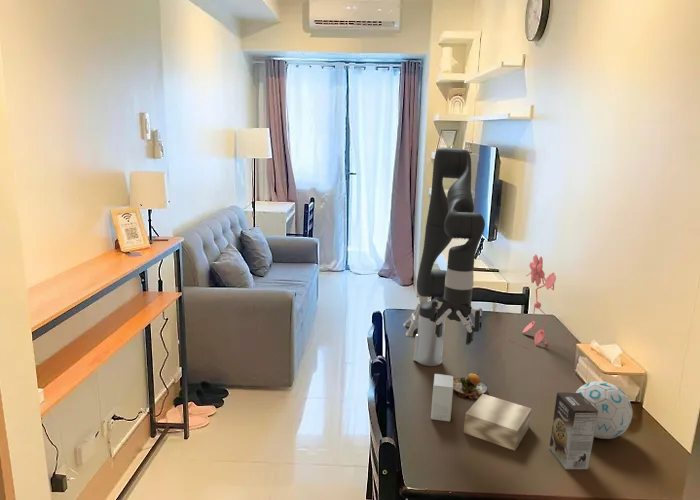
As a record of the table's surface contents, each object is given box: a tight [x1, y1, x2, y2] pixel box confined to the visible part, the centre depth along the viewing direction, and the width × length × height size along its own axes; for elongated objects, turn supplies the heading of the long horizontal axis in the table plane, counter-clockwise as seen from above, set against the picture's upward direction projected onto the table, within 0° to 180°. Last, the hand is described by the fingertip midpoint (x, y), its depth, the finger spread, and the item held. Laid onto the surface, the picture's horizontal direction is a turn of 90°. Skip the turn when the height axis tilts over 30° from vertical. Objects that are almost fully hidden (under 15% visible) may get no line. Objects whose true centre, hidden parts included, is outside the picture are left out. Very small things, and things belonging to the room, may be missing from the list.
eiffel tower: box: [403, 295, 429, 337], centre depth 214 cm, size 13×13×30 cm
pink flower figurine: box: [507, 254, 557, 349], centre depth 210 cm, size 15×26×35 cm, turn 2°
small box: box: [430, 373, 454, 422], centre depth 152 cm, size 8×6×10 cm
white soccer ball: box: [574, 380, 634, 440], centre depth 145 cm, size 15×15×15 cm
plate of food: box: [453, 371, 489, 400], centre depth 168 cm, size 12×12×8 cm
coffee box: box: [549, 391, 598, 470], centre depth 133 cm, size 9×6×16 cm
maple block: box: [463, 394, 533, 451], centre depth 146 cm, size 14×14×6 cm
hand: (453, 340), depth 149 cm, fingers open, 8 cm apart
